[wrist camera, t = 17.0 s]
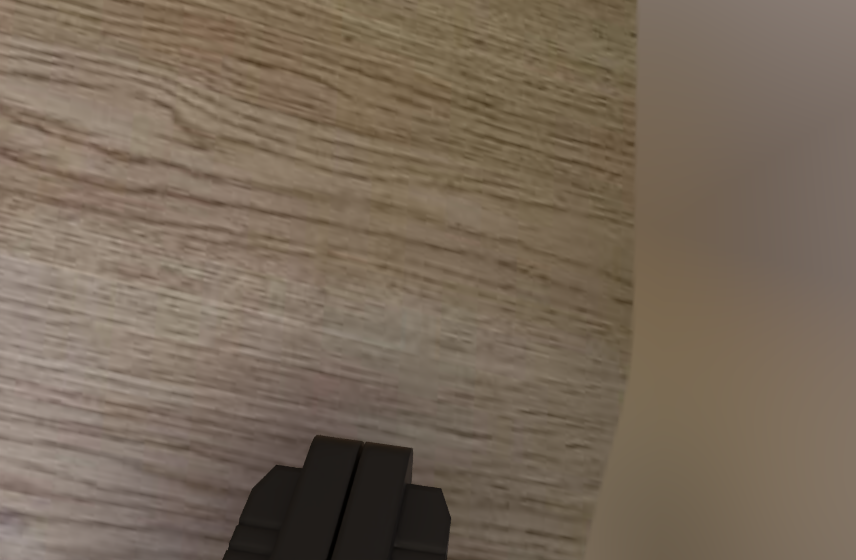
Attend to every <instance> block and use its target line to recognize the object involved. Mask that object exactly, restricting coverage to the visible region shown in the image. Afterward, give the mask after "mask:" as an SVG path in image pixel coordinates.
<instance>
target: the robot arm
mask: <svg viewBox="0 0 856 560" xmlns="http://www.w3.org/2000/svg"><path fill="white" fill-rule="evenodd" d="M412 464H413V448H408V447H401V446H393V445H386V444H379V443H372V442H366V443H365V445H364V442H363V441H356V440H349V439H342V438H335V437H328V436H321V435H316V436H315V437H314V439H313V441H312V443H311V446H310V449H309V452H308V454H307V457H306V460H305V463H304V465H303V468H295V467H289V466H282V465H276V466H275V467H274V468H273V469H272V470H271V471H270V472H269V473H268V474H267V475H266V476H265V477H264V478H263V479H261V480H260V481H259V482H258V483H257V484H256V485H255V486H254V487H253V488H252V490H251V493H250V495H249V497H248V500H247V502H246V504H245V507H244V509H243V512H242V514H241V516H240V519H239V524H238V525H237V526H236V528H235V531H234V533H233V535H232V538H231V540H230V543H229V548H228V550H226V552H225V554H224V557H223V559H222V560H447V552H448V543H449V533H450V524H451V517H450V514H449V510H448V507H447V504H446V501H445V498H444V495H443V492H442V489H441V488H435V487H428V486H421V485H414V484H411V480H412Z"/></svg>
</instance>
